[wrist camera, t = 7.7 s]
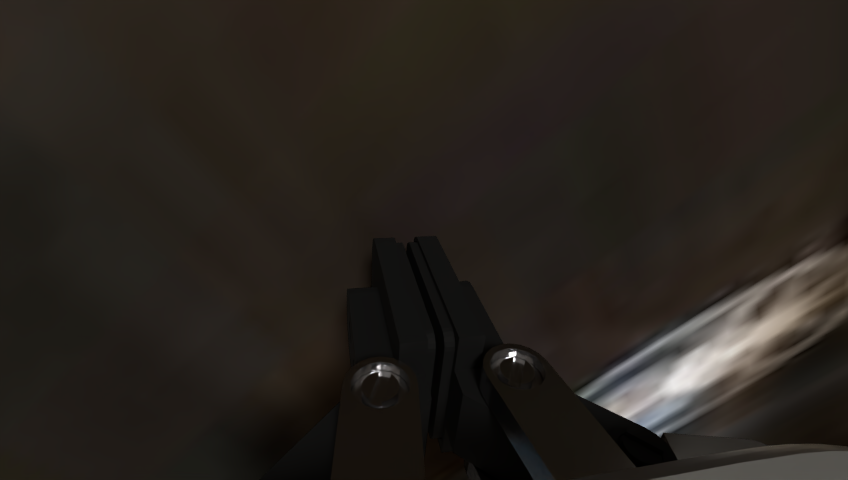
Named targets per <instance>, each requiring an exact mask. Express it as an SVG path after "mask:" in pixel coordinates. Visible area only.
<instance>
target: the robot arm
mask: <svg viewBox="0 0 848 480" xmlns="http://www.w3.org/2000/svg"><path fill="white" fill-rule="evenodd" d="M347 324H348V341H349V352H350V363H351V368H350V370H349V371H348V372H347V373H346V375H345V378H344V381H343V384H342V391H341V400H340V402H339V403H338V404H337V405H336V406H335V407H334V408H333V409H332V410H331V411H330V412H329V413H328V414H327V415H326V416H325V417H324V418H323V419H322V420H321V421H320V422H319V423H318V424H316V425H315V426H314V427H313V428H312V429H311V430H310V431H309V432H308V433H307V434H306V435H305V436H304V437H303V438H302V439H301V440H300V441H299V442H298V443H297V444H296V445H295V446H294V447H293V448H292V449H291V450H290V451H289V452H287V453H286V454H285V455H284V456H283V457H282V458H281V459H280V460H279V461H278V462H277V463H276V464H275V465H274V466H273V467H272V468H271V469H270V470H269V471H268V472H267V473H266V474H265V475H264V476H263V477H262V478H261V479H259V480H425V469H424V456H425V448H426V440H427V432H428V433H429V436H430V438H431V439H434V438H438V441H439V445H440V448H441V452H449V451H453V453H455V454H457V455H458V456H460V457H462V458H463V459H464V467H465V470H466V473H467V476H468V478H469V480H848V447H847V446H837V445H827V444H783V445H773V446H767V445H765V444H763V443H761V442H758V441H754V440H749V439H741V438H727V437H713V436H700V435H686V434H672V433H663V435H662V436H661V438H660V437H659V436H657V435H656V434H655V433H653V432H651V431H650V430H648V429H646V428H645V427H643V426H640V425H638V424H636V423H634V422H632V421H630V420H628V419H626V418H624V417H622V416H619V415H617V414H615V413H613V412H611V411H609V410H607V409H605V408H603V407H601V406H599V405H596V404H594V403H592V402H590V401H588V400H586V399H584V398H582V397H580V396H578V395H575V394H574V392H573V391H572V390H571V389H570V388H569V386H568V385H567V384H566V383H565V382H564V380H563V379H562V378H561V377H560V376H559V375H558V373H557V372H556V371H555V370H554V369H553V367H552V366H551V365H550V364H549V363H548V361H547V360H546V359H545V358H543V357H542V356H541V355H540V354H539V353H537V352H536V351H534V350H532V349H530V348H528V347H525V346H522V345H518V344H503V342H502V340H501V338H500V337H499V335H498V333H497V331H496V329H495V327H494V325H493V324H492V322H491V320H490V318H489V316H488V314H487V312H486V311H485V309H484V307H483V305H482V303H481V301H480V300H479V298H478V296H477V294H476V292H475V290H474V288H473V287H472V285H471V284H470V282H468V281H462V282H459V280H458V278H457V276H456V274H455V272H454V270H453V268H452V266H451V264H450V262H449V261H448V259H447V257H446V255H445V253H444V251H443V249H442V247H441V245H440V243H439V241H438V239H437V237H436V236H425V237H415V239H414V242H408V243H407V251H405V248H404V245H403V243H396V241H395V238H374V239H373V246H372V287H368V288H353V289H347Z"/></svg>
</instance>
